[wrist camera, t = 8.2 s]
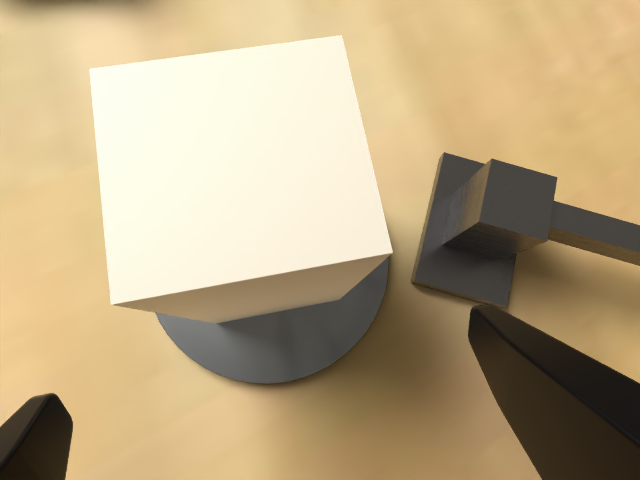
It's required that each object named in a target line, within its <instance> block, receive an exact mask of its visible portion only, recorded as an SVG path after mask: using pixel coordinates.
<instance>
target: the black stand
mask: <svg viewBox="0 0 640 480" xmlns="http://www.w3.org/2000/svg"><path fill="white" fill-rule="evenodd" d="M556 182H557V177H554V176H551V175H547V174H544V173H540V172H537V171H533V170H530V169H526V168H523V167H519V166H516V165H512V164H509V163H505V162H502V161H498V160H495V159H491V160H490V161H489V162H487V163H486V164H483V163H480V162H476V161H473V160H469V159H466V158H462V157H459V156H455V155H452V154H448V153H445V152H444V153H443V154H442V156H441V157H440V159H439V163H438V168H437V172H436V176H435V180H434V185H433V189H432V193H431V197H430V202H429V206H428V210H427V215H426V219H425V223H424V227H423V232H422V236H421V240H420V244H419V249H418V253H417V257H416V262H415V266H414V270H413V274H412V279H411V282H412V283H416V284H419V285H423V286H426V287H430V288H433V289H437V290H440V291H444V292H447V293H450V294H454V295H457V296H461V297H464V298H468V299H471V300H475V301H478V302H482V303H485V304H491V305H493V306H495V307H499V308H503V307H507V304H508V299H509V293H510V287H511V282H512V276H513V271H514V265H515V259H516V254H517V252H520V251H523V250H525V249H528V248H530V247H533V246H536V245H538V244H541V243H543V242H546V241H547V239H548V240H552V241H555V242H558V243H562V244H565V245H569V246H572V247H576V248H579V249H583V250H586V251H590V252H593V253H597V254H600V255H604V256H607V257H611V258H614V259H618V260H621V261H625V262H628V263H632V264H635V265H639V266H640V225H636V224H633V223H629V222H626V221H622V220H619V219H616V218H612V217H609V216H605V215H602V214H598V213H595V212H591V211H588V210H584V209H581V208H577V207H574V206H570V205H567V204H563V203H560V202H556V201H554V195H555V189H556Z"/></svg>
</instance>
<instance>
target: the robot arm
mask: <svg viewBox="0 0 640 480" xmlns="http://www.w3.org/2000/svg"><path fill="white" fill-rule="evenodd" d="M468 338H469V342H470V345H471V347H472V349H473V351H474V353H475V356H476V358H477V360H478V362H479V364H480V367H481V369H482V371H483V373H484V375H485V378H486V380H487V382H488V384H489V386H490V389H491V391H492V393H493V395H494V397H495V399H496V401H497V403H498V405H499V407H500V409H501V411H502V412H503V414H504V416H505V418H506V419H507V421H508V423H509V424H510V426H511V428H512V429H513V431H514V433H515V435H516V436H517V438H518V440H519V441H520V443H521V445H522V446H523V448H524V450H525V451H526V453H527V455H528V456H529V458H530V460H531V462H532V463H533V465H534V467H535V468H536V470H537V472H538V473H539V475H540V477H541V478H542V480H640V383H638V382H636V381H634V380H632V379H630V378H629V377H627V376H625V375H623V374H621V373H619V372H617V371H615V370H614V369H612V368H610V367H608V366H606V365H604V364H602V363H600V362H599V361H597V360H595V359H593V358H591V357H589V356H587V355H585V354H584V353H582V352H580V351H578V350H576V349H574V348H572V347H570V346H569V345H567V344H565V343H563V342H561V341H559V340H557V339H555V338H554V337H552V336H550V335H548V334H546V333H544V332H542V331H540V330H539V329H537V328H535V327H533V326H531V325H529V324H527V323H525V322H524V321H522V320H520V319H518V318H516V317H514V316H512V315H510V314H509V313H507V312H505V311H503V310H501V309H499V308H497V307H495V306H493V305H491V304H485V305H480V306H475V307H473V308H472V309H471V312H470V320H469V329H468ZM72 431H73V422H72V418H71V416H70V414H69V413H68V411H67V410H66V408H65V407H64V405H63V403H62V402H61V400H60V399H59V397H58V396H57V395H56V394H54V393H49V394H44V395H39V396H35V397H32V398H30V399H29V400H28V401H27V402H26V403H25V404H24V405H23V406H22V407H21V408H19V409H18V410H17V411H16V412H15V413H14V414H13V415H12V416H11V417H10V418H9V419H8V420H7V421H6V422H5V423H4V424H3V425H2V426H1V427H0V480H65V477H66V471H67V464H68V458H69V451H70V444H71V438H72Z"/></svg>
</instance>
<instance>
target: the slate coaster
mask: <svg viewBox="0 0 640 480" xmlns="http://www.w3.org/2000/svg"><path fill="white" fill-rule="evenodd" d="M387 276H388V257H387V258H386V259H385V260H384V261H383V262H382V263H381V264H379V265H378V266H377V267H376V268H375V269H374V270H373V271H371V272H370V273H369V274H368V275H367V276H366V277H365V278H363V279H362V280H361V281H360V282H359V283H358V284H357V285H355V286H354V287H353V288H352V289H351V290H350V291H349V292H347V293H346V294H345V295H344V296H343V297H342V298H341V299H340V300H336V301H331V302H325V303H320V304H315V305H310V306H305V307H300V308H294V309H289V310H284V311H279V312H274V313H268V314H263V315H258V316H253V317H248V318H243V319H237V320H232V321H227V322H222V323H217V324H216V323H211V322H205V321H199V320H194V319H188V318H183V317H177V316H171V315H166V314H160V313H156V315H157V318H158V320H159V322H160V323H161V325H162V327H163V328H164V330H165V331H166V333H167V335H168V336H169V337H170V338H171V339H172V341H173V342H174V343H175V344H176V345H177V346H178V348H179V349H181V350H182V351H183V352H184V353H185V354H186V355H187V356H188V357H190V358H191V359H192V360H194V361H195V362H197V363H198V364H200V365H201V366H203V367H204V368H206V369H208V370H210V371H212V372H214V373H217V374H219V375H221V376H224V377H227V378H231V379H234V380H238V381H244V382H250V383H268V384H270V383H279V382H287V381H291V380H296V379H300V378H303V377H306V376H308V375H311V374H313V373H316V372H318V371H320V370H322V369H324V368H326V367H327V366H329V365H331V364H333V363H334V362H336V361H337V360H338V359H340V358H341V357H342V356H344V355H345V354H346V353H347V352H348V351H349V350H350V349H351V348H352V347H353V346H354V345H355V344H356V343H357V342H358V341H359V340H360V339H361V337H362V336H363V335H364V334H365V332H366V331H367V330H368V328H369V326H370V325H371V323H372V321H373V320H374V318H375V316H376V314H377V312H378V309H379V307H380V305H381V302H382V299H383V296H384V292H385V288H386V284H387Z"/></svg>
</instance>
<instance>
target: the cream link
mask: <svg viewBox="0 0 640 480" xmlns="http://www.w3.org/2000/svg"><path fill="white" fill-rule="evenodd" d="M89 70H90V81H91V92H92V103H93V114H94V125H95V136H96V147H97V158H98V169H99V180H100V190H101V201H102V212H103V223H104V234H105V245H106V256H107V267H108V278H109V289H110V300H111V305H115V306H121V307H127V308H132V309H138V310H143V311H149V312H155V313H160V314H166V315H171V316H177V317H183V318H188V319H194V320H199V321H205V322H211V323H216V324H217V323H222V322H227V321H232V320H237V319H243V318H248V317H253V316H258V315H263V314H268V313H274V312H279V311H284V310H289V309H294V308H300V307H305V306H310V305H315V304H320V303H325V302H331V301H336V300H340V299H341V298H342V297H343V296H344V295H345V294H346V293H347V292H349V291H350V290H351V289H352V288H353V287H354V286H355V285H357V284H358V283H359V282H360V281H361V280H362V279H363V278H365V277H366V276H367V275H368V274H369V273H370V272H371V271H373V270H374V269H375V268H376V267H377V266H378V265H379V264H381V263H382V262H383V261H384V260H385V259H386V258H387V257H388V256H390V255H391V254H392V253H393V251H392V247H391V243H390V238H389V234H388V230H387V225H386V221H385V217H384V213H383V208H382V204H381V200H380V196H379V191H378V187H377V183H376V179H375V174H374V170H373V166H372V162H371V157H370V153H369V149H368V145H367V140H366V136H365V132H364V128H363V123H362V119H361V115H360V111H359V106H358V102H357V98H356V94H355V89H354V85H353V81H352V77H351V72H350V68H349V64H348V60H347V55H346V51H345V47H344V43H343V38H342V35H340V36H332V37H325V38H317V39H310V40H302V41H295V42H287V43H280V44H272V45H265V46H257V47H250V48H242V49H235V50H227V51H220V52H212V53H205V54H197V55H190V56H182V57H175V58H167V59H160V60H152V61H145V62H137V63H130V64H122V65H115V66H107V67H100V68H92V69H89Z"/></svg>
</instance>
